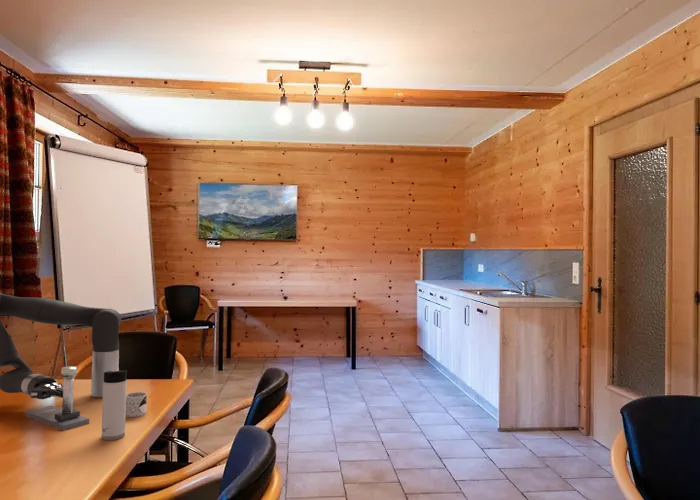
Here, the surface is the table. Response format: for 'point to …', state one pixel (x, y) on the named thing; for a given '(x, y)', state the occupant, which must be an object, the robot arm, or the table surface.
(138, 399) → the mug
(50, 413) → the fader panel
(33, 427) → the table surface
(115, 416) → the travel mug
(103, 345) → the robot arm
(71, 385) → the fader
